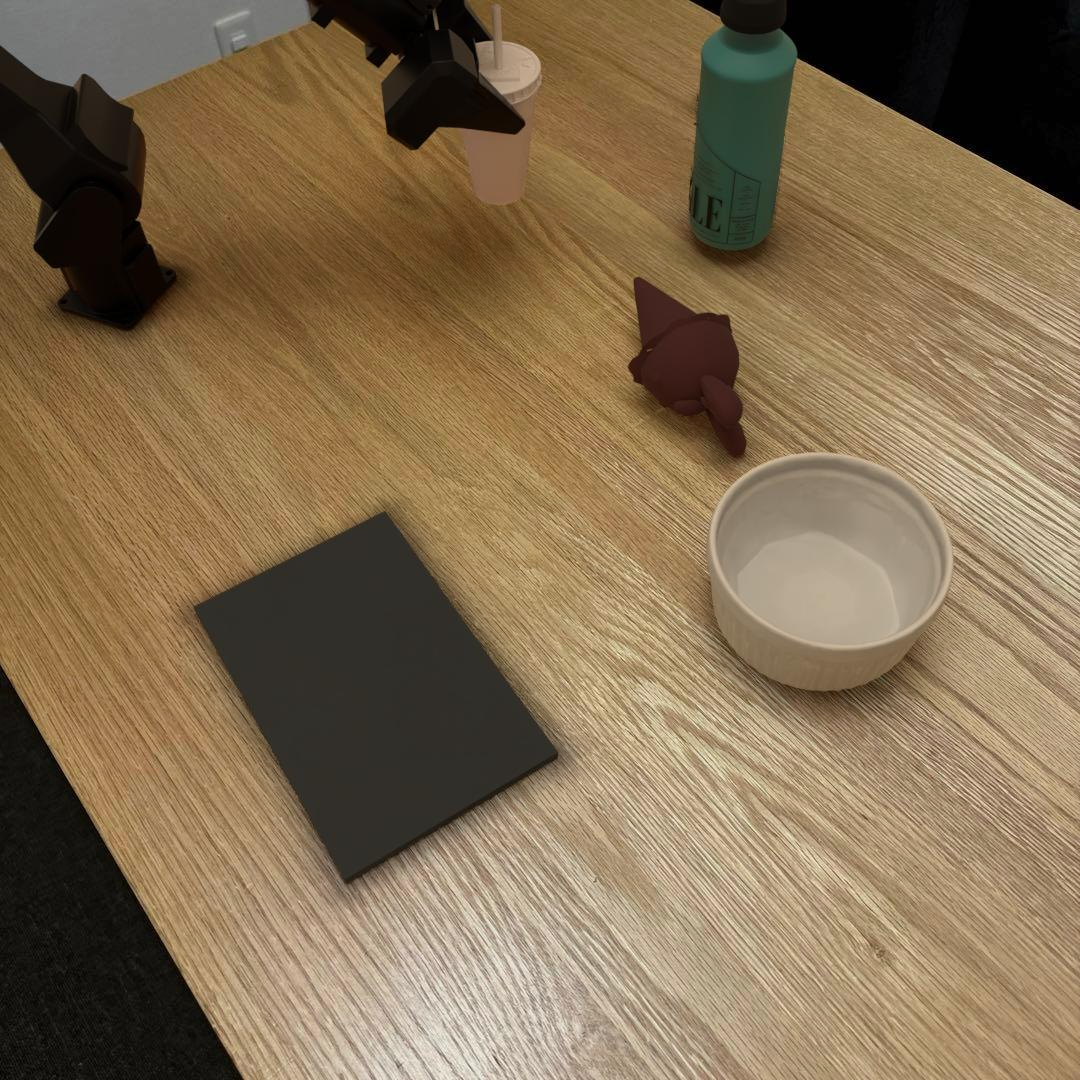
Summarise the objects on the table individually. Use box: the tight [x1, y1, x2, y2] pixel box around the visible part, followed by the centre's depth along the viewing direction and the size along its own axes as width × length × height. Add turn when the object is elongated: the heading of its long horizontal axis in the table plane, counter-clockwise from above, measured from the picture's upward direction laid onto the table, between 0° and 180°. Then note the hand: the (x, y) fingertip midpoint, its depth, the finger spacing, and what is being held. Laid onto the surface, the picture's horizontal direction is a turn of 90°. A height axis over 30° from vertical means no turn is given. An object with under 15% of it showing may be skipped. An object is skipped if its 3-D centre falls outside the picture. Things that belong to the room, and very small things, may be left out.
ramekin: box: [705, 451, 955, 692], centre depth 67 cm, size 13×13×7 cm
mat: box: [193, 510, 559, 884], centre depth 68 cm, size 20×13×1 cm, turn 32°
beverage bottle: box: [686, 0, 798, 251], centre depth 82 cm, size 6×7×20 cm
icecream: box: [627, 276, 748, 459], centre depth 78 cm, size 7×7×15 cm
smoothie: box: [459, 3, 543, 206], centre depth 80 cm, size 6×6×14 cm
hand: (514, 99), depth 80 cm, fingers closed on smoothie, 6 cm apart
